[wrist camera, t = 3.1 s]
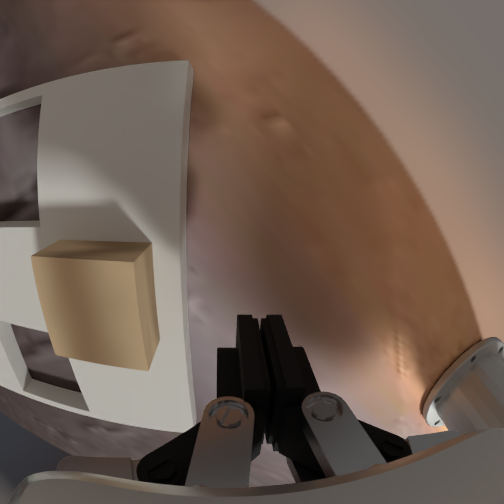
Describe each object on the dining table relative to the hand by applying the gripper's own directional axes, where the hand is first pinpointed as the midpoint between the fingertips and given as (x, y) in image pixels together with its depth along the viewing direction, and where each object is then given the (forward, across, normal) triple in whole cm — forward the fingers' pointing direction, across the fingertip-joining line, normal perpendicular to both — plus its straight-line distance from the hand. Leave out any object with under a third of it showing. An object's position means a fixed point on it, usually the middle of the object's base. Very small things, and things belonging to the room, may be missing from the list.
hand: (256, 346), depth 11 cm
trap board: (+7, +16, 0) cm, 18 cm away
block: (+5, +8, 0) cm, 10 cm away
